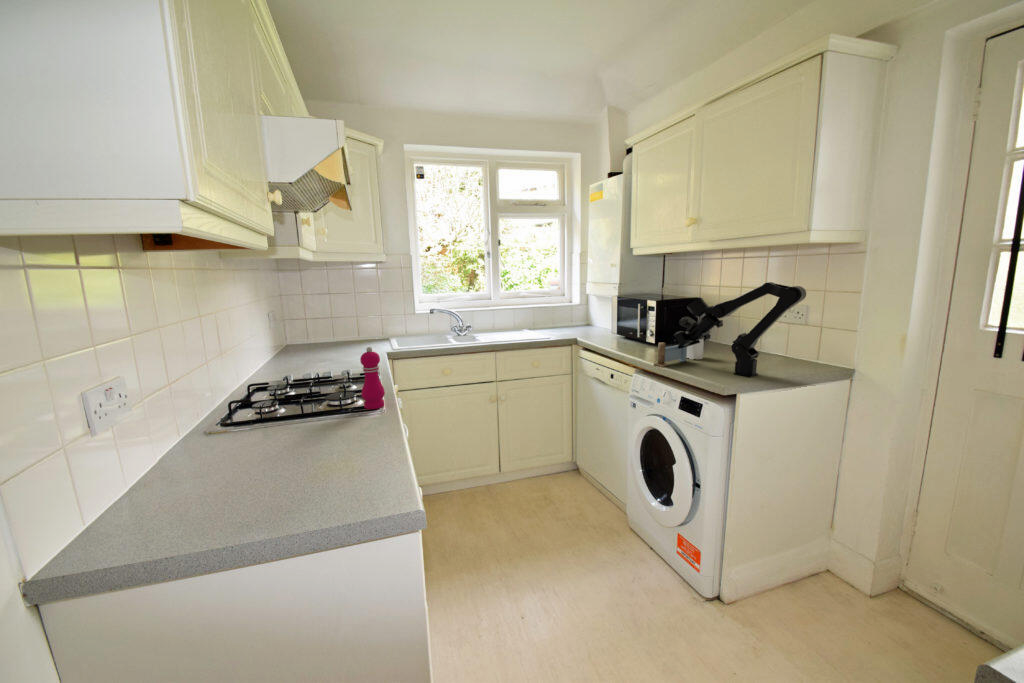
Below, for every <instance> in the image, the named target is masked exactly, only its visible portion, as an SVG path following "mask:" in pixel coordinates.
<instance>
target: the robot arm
mask: <svg viewBox="0 0 1024 683" xmlns="http://www.w3.org/2000/svg"><path fill="white" fill-rule="evenodd" d="M767 295H771V296H774V297H777V298H778V299H777V301H776V303H775V305H774V306H773V307H772V308H771V309H770V310H769V312H767V314H765V316H764V317H762V319H761V320H759V322H758V323H756V325H754V327H753V328H752V329H751V330H750V331H749V332H748V333H746V332H743V333H740V334H738V336H736V339H734V340H733V341H732V344H731V348H730V349H731V352H732V353H733V354H734V355H735V359H736V361H735V364H734V372H733V375H737V376H743V377H748V378H751V377H755V376H758V375H759V372H757V366H758V365H757V364H758V357H759V355H760V352H759V351H758V350H757V349H756V348H755V347H756V345H757V343H758V341H759V339H760V338H761V337H762V336H763V335H764V334H765V333H766V332H767V331H768V330H770V328H771V327H772V326H774V324H775V323H777V321H778V320H779V319H780V318H781V317H782V316H783V315H784V314H786V312H788V311H789V310H790V309H791V308H793V307H795V306H796V305H798V304H799V303H801V302H802V301H803V300H805V298H806V297H807V291H806V289H805V288H804V287H803V286H799V285H795V286H790V285H783V284H778V283H775V282H772V281H769V282H768V281H767V282H764V283H763V284H762V285H760V286H758V287H756V288H754V289H752V290H749V291H748V292H747V291H746V292H745V293H743V294H741V295H740V296H738V297H735V298H734V299H730V300H727V301H722V302H720V303H716V304H715V305H710V306H709V305H708V304H707V302H705V300H704V299H703V297H701V296H699V297H698V298H697V299H695V300H693V301H692V302H690V303H688V304H687V306H686V308H687V310H689V311H690V313H691V314H692V315H693V316H694V317H695V318H700V319H699V320H698V321H696V320H695V319H693V318H691V317H690V316H684V317H681V318H680V319H679V320H678V324H679V325H680V326H681V327H684V328H685V331H684V330H683V331H682V330H680V331H676V332H675V333H674V334H673V336H674V338H675V340H676V341H677V342H678V345H679V346H678V348H679V349H681V348H685V347H688V346H691V345H694V344H698V343H700V341H699V340H701V339H704V340H703V341H704V342H707V341H709V340H710V339H711V337H712V336H711V334H710V333H711V330H713V329H714V327H717V329H719V328H721V327H723V326H724V321H723V318H727V317H729V316H731V315H732V314H733V313H735V312H736V311H737V310H739V309H740V308H742V307H743V306H746V305H748V304H750V303H751V302H754V301H757V300H758V299H761V298H763V297H765V296H767ZM685 332H689V333H685ZM703 337H704V338H703Z"/></svg>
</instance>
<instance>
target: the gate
mask: <svg viewBox="0 0 1024 683" xmlns="http://www.w3.org/2000/svg"><path fill="white" fill-rule="evenodd" d="M678 346H679V344H677V345H673V346H672V345H671V346H665V363H667V362H671V361H676V360H677V361H678V362H687V359H686V358H687V347H685V348H681V349H679V348H678Z"/></svg>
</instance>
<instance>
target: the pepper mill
mask: <svg viewBox="0 0 1024 683" xmlns="http://www.w3.org/2000/svg"><path fill="white" fill-rule="evenodd" d="M365 350H366V352H363V353H362V355H361V356H360V365H361V366H363V367H362V372H364V382H363V386H362V388H361V398H362V400H364V402H363V407H364V409H367V410H378V409H381V408H383V407H384V406H385V400H384V399H383V398H384V396H385V395H386V394H385V393H386V392H385V388H384V386H383V383H382V382H381V381H380V377H379V370H380V366H379V363H380V361H381V359H380V358H381V357H380V355H379V353H377V352H376V351H373V348H372V347H371V346H367V347H366V349H365Z"/></svg>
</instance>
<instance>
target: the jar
mask: <svg viewBox="0 0 1024 683" xmlns="http://www.w3.org/2000/svg"><path fill="white" fill-rule="evenodd" d="M684 332H685V333H689V332H687V331H684ZM704 339H705V338H704V337H703V339H701V340H699V341H700V343H698V344H694V345H691V346H688V347H687V358H689V359H688V360H693V359H696V360H703V359H704V343H705V341H703V340H704Z"/></svg>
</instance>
